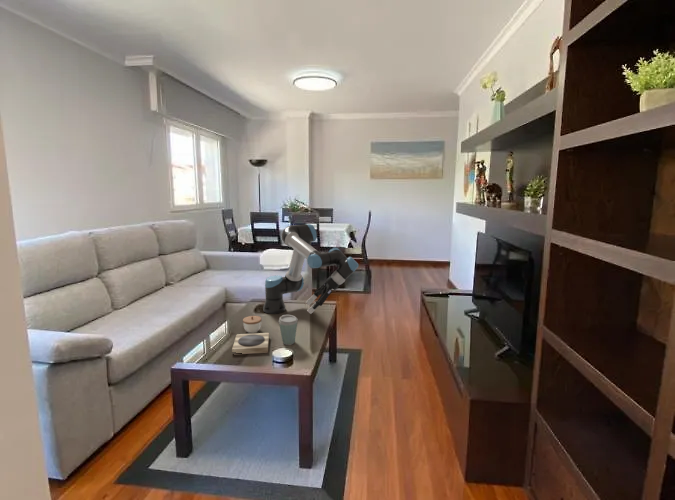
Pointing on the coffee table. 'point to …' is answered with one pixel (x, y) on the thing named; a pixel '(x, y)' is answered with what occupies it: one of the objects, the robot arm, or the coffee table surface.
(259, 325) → the lidded jar
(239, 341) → the birch riser
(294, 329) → the disposable coffee cup
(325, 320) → the coffee table surface
